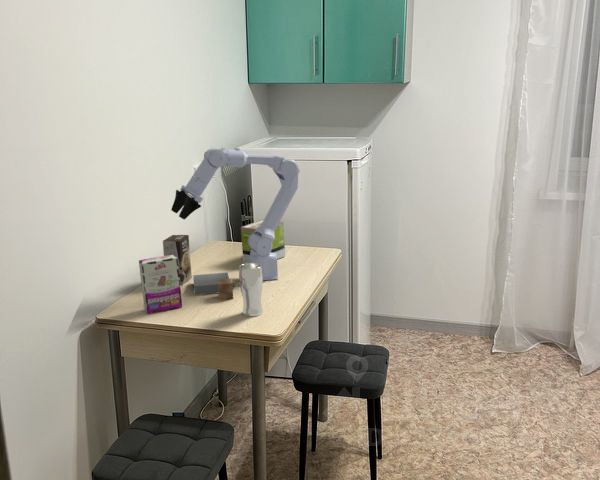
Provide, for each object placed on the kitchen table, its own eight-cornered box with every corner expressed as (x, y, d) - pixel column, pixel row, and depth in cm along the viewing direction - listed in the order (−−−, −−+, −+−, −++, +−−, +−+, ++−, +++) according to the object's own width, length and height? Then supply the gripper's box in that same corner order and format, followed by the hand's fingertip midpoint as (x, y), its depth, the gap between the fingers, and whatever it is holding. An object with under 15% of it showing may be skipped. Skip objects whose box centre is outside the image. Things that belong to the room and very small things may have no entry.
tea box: (266, 253, 242) (264, 218, 238) (285, 256, 236) (284, 221, 232) (242, 262, 230) (240, 225, 226) (262, 266, 224) (260, 228, 220)
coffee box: (182, 285, 205) (179, 241, 201) (165, 285, 206) (161, 240, 202) (192, 277, 214) (189, 234, 209) (176, 276, 215) (172, 234, 211)
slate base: (228, 280, 209) (227, 272, 208) (230, 291, 198) (230, 283, 197) (193, 283, 207) (193, 275, 206) (194, 294, 196) (193, 286, 195)
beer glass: (241, 309, 182) (238, 263, 178) (263, 308, 182) (261, 261, 178) (241, 317, 175) (238, 270, 171) (264, 316, 176) (262, 268, 172)
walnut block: (232, 294, 195) (231, 278, 194) (233, 299, 191) (232, 283, 190) (218, 295, 194) (217, 279, 193) (219, 300, 190) (218, 284, 189)
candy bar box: (178, 302, 189) (173, 253, 185) (182, 307, 185) (178, 257, 180) (143, 309, 184) (138, 259, 180) (147, 314, 180) (141, 263, 176)
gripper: (182, 169, 198) (160, 203, 198) (198, 179, 186) (175, 215, 186) (199, 180, 202) (177, 213, 202) (215, 190, 191) (192, 225, 190)
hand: (177, 214), depth 194 cm, fingers open, 7 cm apart
